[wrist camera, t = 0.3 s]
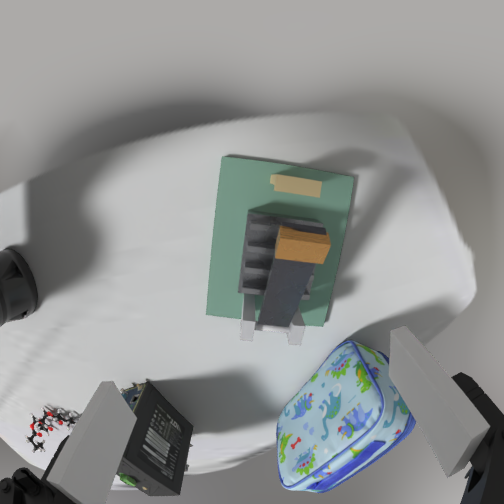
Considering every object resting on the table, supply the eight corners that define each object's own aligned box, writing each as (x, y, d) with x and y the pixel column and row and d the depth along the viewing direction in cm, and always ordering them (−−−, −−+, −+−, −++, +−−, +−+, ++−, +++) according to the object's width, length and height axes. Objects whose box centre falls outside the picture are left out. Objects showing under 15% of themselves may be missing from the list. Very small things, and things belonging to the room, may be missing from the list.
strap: (256, 317, 36) (255, 332, 34) (279, 221, 25) (280, 238, 23) (289, 320, 36) (290, 335, 35) (327, 228, 25) (330, 245, 23)
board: (206, 311, 44) (196, 346, 35) (222, 156, 38) (213, 150, 28) (321, 323, 45) (337, 358, 35) (351, 177, 39) (380, 178, 29)
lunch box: (308, 430, 53) (323, 506, 33) (267, 418, 51) (272, 502, 31) (385, 346, 47) (435, 421, 27) (344, 326, 45) (390, 412, 25)
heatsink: (238, 283, 42) (236, 298, 37) (248, 209, 39) (247, 215, 34) (304, 290, 42) (311, 306, 37) (317, 219, 40) (327, 226, 34)
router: (144, 375, 48) (110, 452, 29) (197, 429, 53) (184, 502, 33) (118, 385, 49) (82, 454, 30) (170, 435, 54) (153, 503, 34)
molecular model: (46, 429, 57) (30, 460, 42) (23, 402, 54) (3, 432, 39) (95, 424, 58) (80, 463, 43) (69, 393, 55) (48, 432, 40)
